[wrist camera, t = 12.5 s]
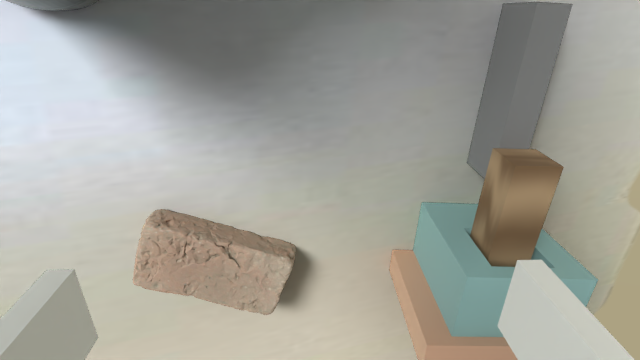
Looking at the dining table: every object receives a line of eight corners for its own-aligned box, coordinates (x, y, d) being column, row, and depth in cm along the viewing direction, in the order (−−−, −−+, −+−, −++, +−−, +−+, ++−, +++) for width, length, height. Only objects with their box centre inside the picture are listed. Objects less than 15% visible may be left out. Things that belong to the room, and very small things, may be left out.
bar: (492, 148, 33) (515, 165, 30) (535, 149, 33) (563, 166, 30) (462, 264, 39) (478, 290, 35) (499, 264, 39) (519, 291, 35)
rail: (503, 3, 34) (537, 2, 28) (532, 5, 34) (572, 4, 29) (466, 162, 40) (489, 183, 35) (492, 163, 40) (518, 184, 35)
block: (421, 202, 42) (467, 277, 30) (516, 205, 42) (598, 279, 30) (413, 250, 44) (451, 336, 32) (502, 252, 45) (572, 337, 33)
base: (392, 249, 44) (427, 345, 31) (522, 252, 45) (607, 347, 32) (389, 270, 45) (421, 370, 33) (515, 272, 46) (594, 371, 33)
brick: (298, 241, 44) (296, 266, 39) (277, 294, 47) (274, 322, 43) (156, 201, 41) (139, 223, 37) (145, 260, 44) (127, 286, 40)
